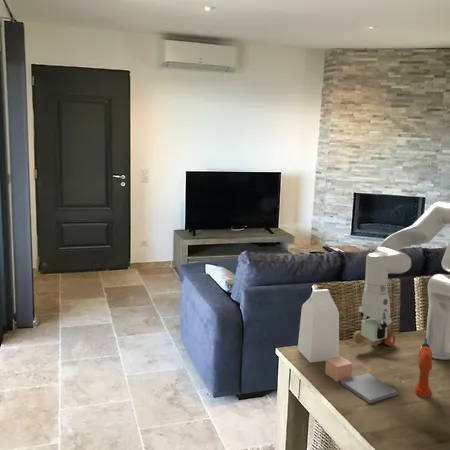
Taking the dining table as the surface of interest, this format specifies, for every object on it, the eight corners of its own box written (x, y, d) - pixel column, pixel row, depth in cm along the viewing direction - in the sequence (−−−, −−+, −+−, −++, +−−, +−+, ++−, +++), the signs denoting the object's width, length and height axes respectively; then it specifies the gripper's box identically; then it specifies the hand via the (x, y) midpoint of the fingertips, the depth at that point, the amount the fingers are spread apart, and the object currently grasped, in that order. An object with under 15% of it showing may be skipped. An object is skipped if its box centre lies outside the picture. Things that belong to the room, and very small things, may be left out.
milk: (324, 346, 201) (328, 284, 196) (338, 358, 190) (342, 293, 185) (297, 349, 198) (299, 286, 193) (310, 362, 187) (312, 296, 182)
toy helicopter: (397, 344, 203) (399, 312, 200) (361, 356, 192) (363, 323, 189) (381, 337, 210) (383, 306, 207) (346, 348, 199) (347, 316, 196)
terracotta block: (339, 370, 181) (340, 355, 180) (351, 377, 176) (352, 363, 175) (325, 373, 179) (326, 359, 177) (336, 381, 173) (337, 366, 172)
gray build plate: (367, 376, 177) (367, 372, 177) (397, 394, 165) (397, 391, 164) (340, 383, 171) (341, 380, 171) (369, 403, 159) (369, 400, 159)
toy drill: (430, 369, 179) (433, 332, 175) (430, 401, 163) (434, 361, 158) (415, 366, 181) (419, 330, 176) (414, 398, 164) (418, 358, 160)
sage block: (374, 331, 185) (374, 317, 183) (386, 337, 179) (387, 323, 178) (360, 334, 182) (361, 320, 181) (373, 341, 176) (374, 326, 175)
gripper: (402, 292, 171) (399, 341, 174) (366, 279, 186) (364, 324, 189) (386, 296, 167) (383, 346, 171) (351, 282, 183) (349, 328, 186)
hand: (373, 334), depth 180 cm, fingers closed on sage block, 6 cm apart
